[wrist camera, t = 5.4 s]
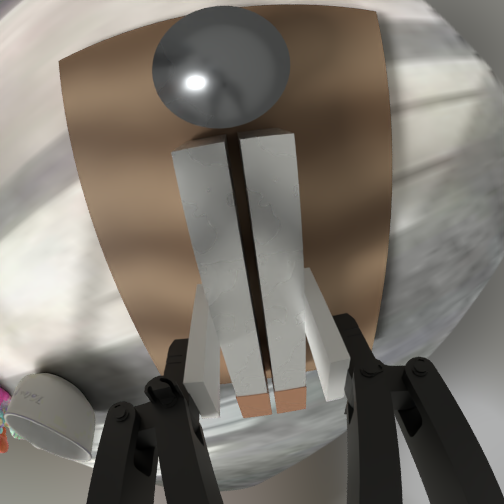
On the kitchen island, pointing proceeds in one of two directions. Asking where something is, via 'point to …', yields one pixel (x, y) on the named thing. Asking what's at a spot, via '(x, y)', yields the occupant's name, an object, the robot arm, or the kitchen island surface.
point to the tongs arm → (278, 256)
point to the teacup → (52, 416)
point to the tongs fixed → (222, 164)
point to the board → (238, 169)
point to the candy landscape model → (0, 406)
